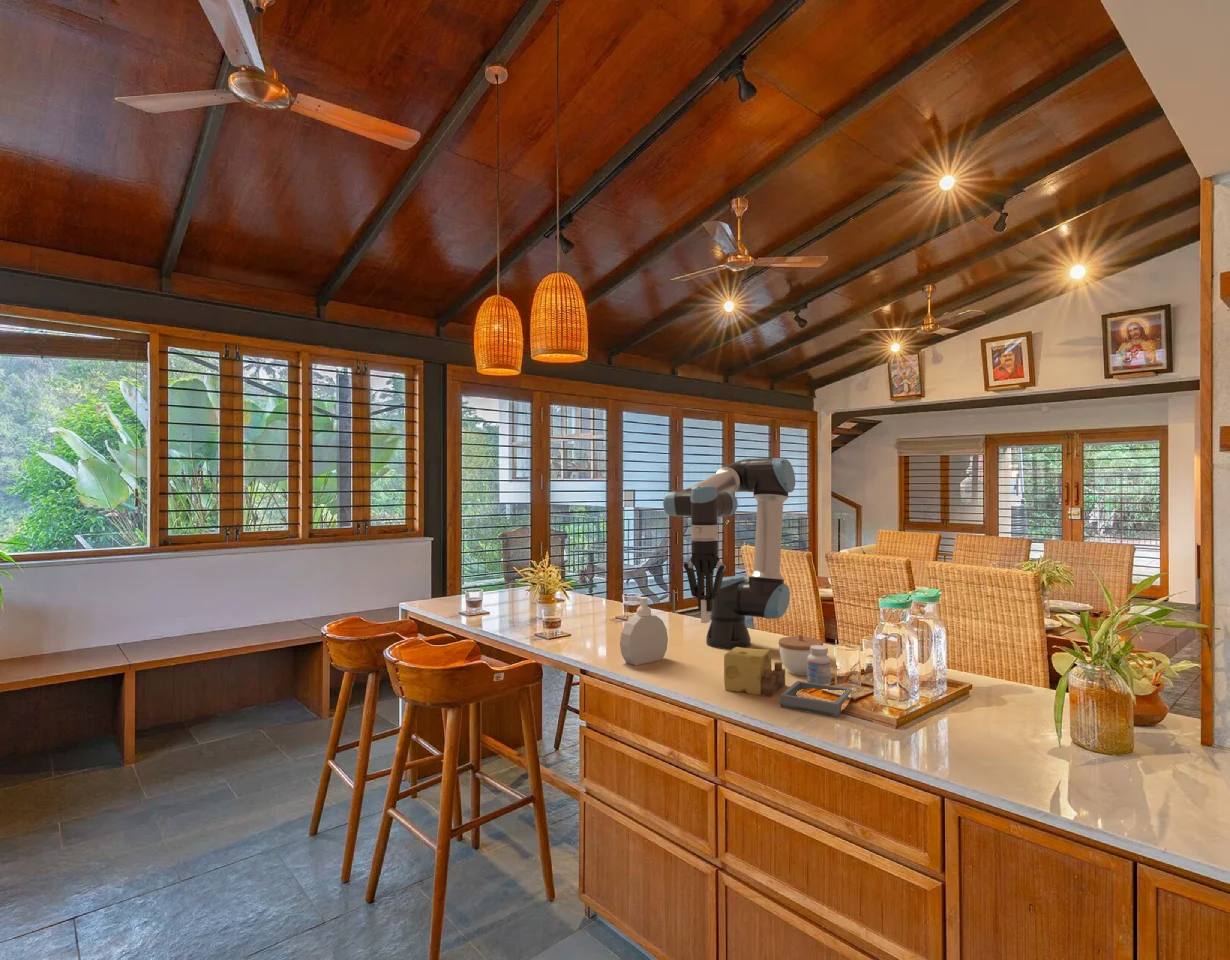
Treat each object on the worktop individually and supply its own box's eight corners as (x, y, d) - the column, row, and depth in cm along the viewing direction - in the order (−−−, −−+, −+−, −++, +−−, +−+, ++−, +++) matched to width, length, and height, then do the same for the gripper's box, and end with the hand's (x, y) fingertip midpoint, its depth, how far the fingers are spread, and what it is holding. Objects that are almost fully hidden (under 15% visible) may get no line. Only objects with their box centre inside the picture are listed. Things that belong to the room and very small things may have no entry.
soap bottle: (657, 655, 218) (657, 594, 218) (668, 658, 214) (668, 596, 214) (618, 663, 208) (618, 599, 208) (629, 667, 204) (628, 601, 204)
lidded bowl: (785, 664, 206) (785, 628, 206) (827, 669, 199) (827, 632, 200) (773, 674, 195) (773, 636, 195) (817, 680, 189) (817, 641, 189)
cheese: (761, 696, 175) (760, 658, 175) (722, 690, 181) (721, 653, 181) (772, 685, 185) (771, 649, 185) (734, 680, 190) (734, 645, 190)
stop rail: (776, 683, 186) (776, 660, 186) (785, 685, 184) (784, 661, 184) (761, 695, 176) (760, 671, 176) (770, 697, 174) (769, 672, 174)
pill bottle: (804, 685, 184) (803, 644, 184) (825, 684, 185) (825, 643, 185) (812, 692, 178) (812, 650, 178) (834, 691, 179) (834, 649, 179)
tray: (797, 691, 178) (797, 680, 178) (851, 700, 171) (851, 688, 171) (780, 706, 167) (780, 694, 167) (837, 717, 159) (837, 704, 159)
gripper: (678, 539, 191) (679, 622, 191) (720, 541, 184) (721, 627, 184) (689, 537, 198) (690, 617, 198) (731, 539, 191) (732, 622, 190)
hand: (705, 622), depth 191 cm, fingers closed
